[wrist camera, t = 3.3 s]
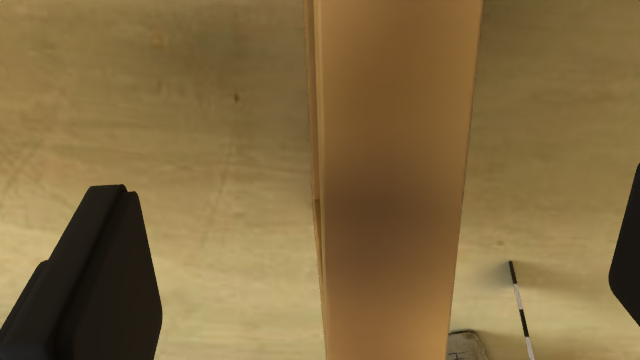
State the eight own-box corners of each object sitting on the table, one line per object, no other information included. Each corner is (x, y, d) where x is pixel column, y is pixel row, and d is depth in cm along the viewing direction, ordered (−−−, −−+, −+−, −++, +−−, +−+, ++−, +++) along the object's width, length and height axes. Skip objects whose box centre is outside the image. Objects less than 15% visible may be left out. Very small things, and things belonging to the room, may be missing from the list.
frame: (399, -137, 17) (499, -136, 9) (387, 207, 23) (444, 388, 15) (297, -134, 17) (312, -129, 9) (312, 211, 23) (329, 396, 15)
